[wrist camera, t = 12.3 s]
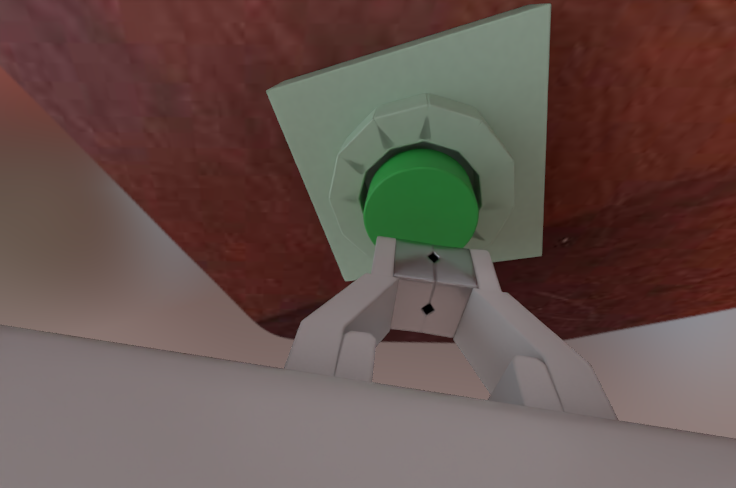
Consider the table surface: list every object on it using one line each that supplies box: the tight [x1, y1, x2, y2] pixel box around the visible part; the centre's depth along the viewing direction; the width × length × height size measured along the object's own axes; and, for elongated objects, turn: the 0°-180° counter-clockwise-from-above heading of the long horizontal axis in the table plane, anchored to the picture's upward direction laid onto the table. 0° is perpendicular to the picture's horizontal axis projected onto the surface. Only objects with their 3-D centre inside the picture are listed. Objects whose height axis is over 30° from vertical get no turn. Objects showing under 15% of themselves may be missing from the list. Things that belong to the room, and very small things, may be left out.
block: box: [266, 3, 551, 281], centre depth 14 cm, size 10×10×4 cm
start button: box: [363, 149, 479, 248], centre depth 12 cm, size 4×4×2 cm
